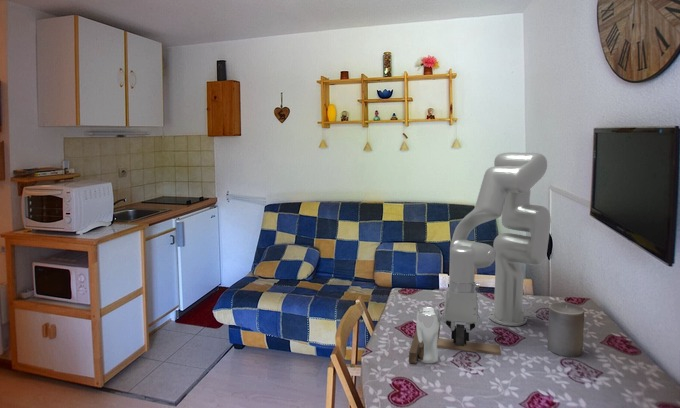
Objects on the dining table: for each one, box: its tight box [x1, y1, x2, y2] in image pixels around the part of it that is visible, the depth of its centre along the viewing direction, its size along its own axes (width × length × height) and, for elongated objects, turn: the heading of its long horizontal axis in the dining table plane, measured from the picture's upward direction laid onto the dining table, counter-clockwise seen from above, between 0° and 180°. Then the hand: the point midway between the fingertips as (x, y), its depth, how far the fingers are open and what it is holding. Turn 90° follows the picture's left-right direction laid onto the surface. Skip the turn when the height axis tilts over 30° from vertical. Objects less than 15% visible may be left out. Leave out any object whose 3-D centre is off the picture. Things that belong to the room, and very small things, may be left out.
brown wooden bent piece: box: [408, 323, 502, 364], centre depth 132 cm, size 26×18×7 cm
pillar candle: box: [547, 301, 585, 358], centre depth 134 cm, size 10×10×15 cm
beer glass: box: [415, 306, 441, 364], centre depth 129 cm, size 7×7×15 cm
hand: (460, 341), depth 138 cm, fingers closed on brown wooden bent piece, 2 cm apart
